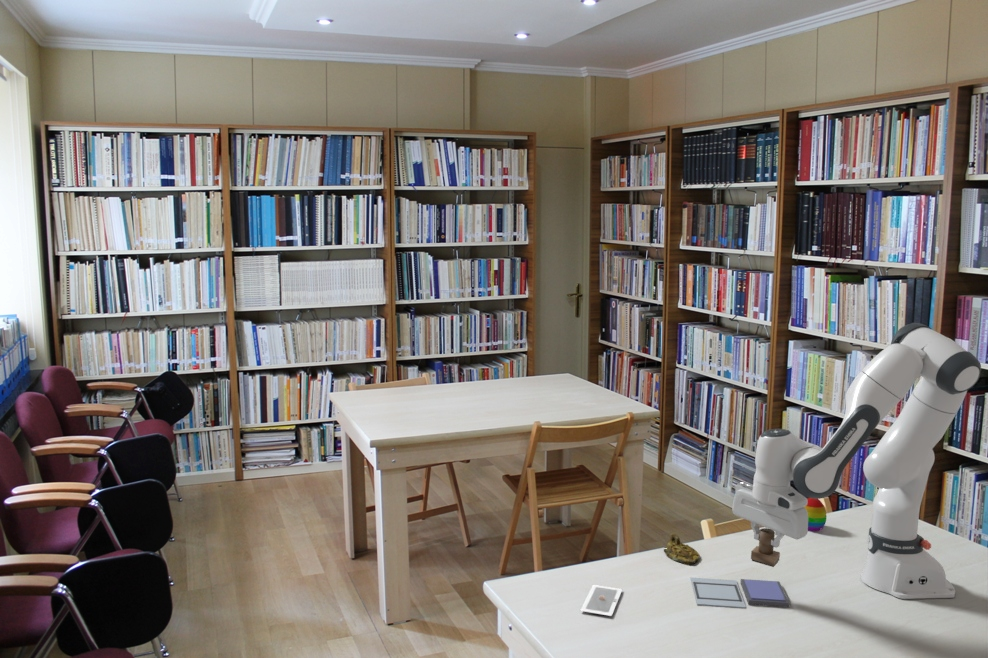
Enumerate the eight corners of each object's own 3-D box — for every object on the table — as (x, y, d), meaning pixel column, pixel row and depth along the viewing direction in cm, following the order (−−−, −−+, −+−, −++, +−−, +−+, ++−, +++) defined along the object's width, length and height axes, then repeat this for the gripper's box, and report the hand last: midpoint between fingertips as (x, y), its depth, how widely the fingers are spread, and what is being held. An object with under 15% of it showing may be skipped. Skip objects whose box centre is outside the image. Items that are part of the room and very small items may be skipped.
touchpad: (580, 614, 199) (580, 606, 199) (592, 588, 213) (593, 580, 213) (611, 620, 197) (611, 611, 196) (622, 593, 211) (622, 585, 210)
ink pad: (779, 585, 214) (779, 580, 214) (789, 607, 203) (789, 601, 202) (740, 583, 216) (740, 578, 215) (748, 604, 204) (748, 599, 204)
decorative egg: (823, 534, 249) (825, 503, 247) (795, 529, 253) (797, 499, 251) (827, 526, 256) (829, 496, 254) (800, 521, 260) (802, 491, 258)
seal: (707, 568, 228) (683, 546, 242) (710, 552, 227) (686, 531, 242) (677, 568, 226) (655, 545, 240) (680, 552, 225) (657, 530, 239)
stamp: (779, 562, 208) (781, 531, 206) (773, 567, 204) (776, 536, 203) (756, 555, 211) (758, 525, 210) (750, 560, 208) (753, 530, 207)
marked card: (735, 581, 217) (735, 579, 217) (745, 608, 202) (745, 606, 202) (690, 578, 218) (690, 577, 218) (696, 604, 204) (696, 603, 204)
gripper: (729, 481, 211) (725, 531, 213) (799, 506, 195) (794, 560, 197) (743, 477, 215) (740, 526, 217) (813, 501, 199) (808, 554, 201)
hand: (766, 542), depth 207 cm, fingers closed on stamp, 4 cm apart
